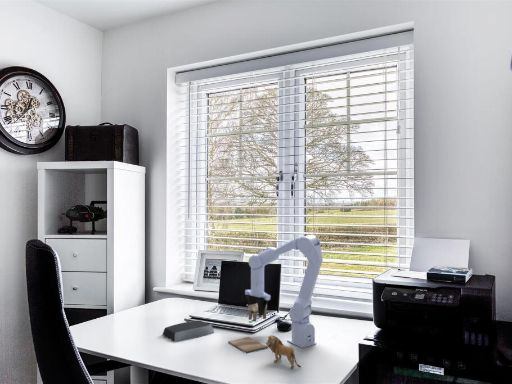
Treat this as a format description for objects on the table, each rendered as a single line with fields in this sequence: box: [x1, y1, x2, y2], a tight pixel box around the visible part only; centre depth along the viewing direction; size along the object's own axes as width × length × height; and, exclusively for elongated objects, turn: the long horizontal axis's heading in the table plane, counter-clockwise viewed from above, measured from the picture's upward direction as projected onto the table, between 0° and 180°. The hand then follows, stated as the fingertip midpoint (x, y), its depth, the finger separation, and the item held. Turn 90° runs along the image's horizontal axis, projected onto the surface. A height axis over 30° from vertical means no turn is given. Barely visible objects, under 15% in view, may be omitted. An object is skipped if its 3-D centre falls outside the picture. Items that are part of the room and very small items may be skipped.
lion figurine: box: [265, 335, 302, 370], centre depth 155 cm, size 15×5×9 cm, turn 51°
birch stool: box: [247, 304, 268, 322], centre depth 187 cm, size 4×7×6 cm, turn 131°
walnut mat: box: [227, 336, 269, 354], centre depth 174 cm, size 14×10×1 cm
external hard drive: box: [162, 320, 215, 343], centre depth 188 cm, size 13×19×4 cm
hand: (257, 313), depth 187 cm, fingers closed on birch stool, 4 cm apart
